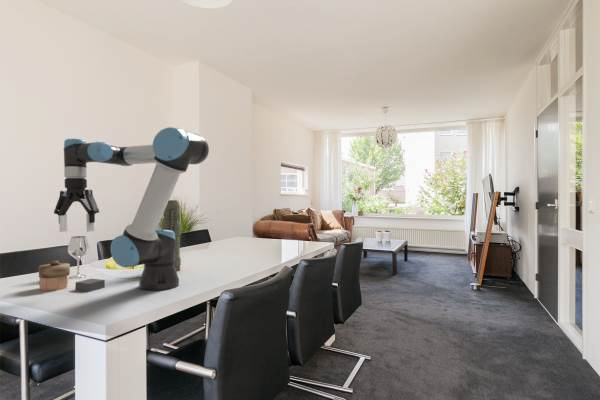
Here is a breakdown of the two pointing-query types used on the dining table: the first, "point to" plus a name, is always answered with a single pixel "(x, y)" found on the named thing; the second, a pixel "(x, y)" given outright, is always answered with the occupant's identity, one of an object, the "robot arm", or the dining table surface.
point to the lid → (54, 270)
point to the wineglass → (78, 250)
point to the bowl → (53, 283)
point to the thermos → (173, 227)
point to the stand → (90, 285)
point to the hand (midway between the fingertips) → (76, 231)
